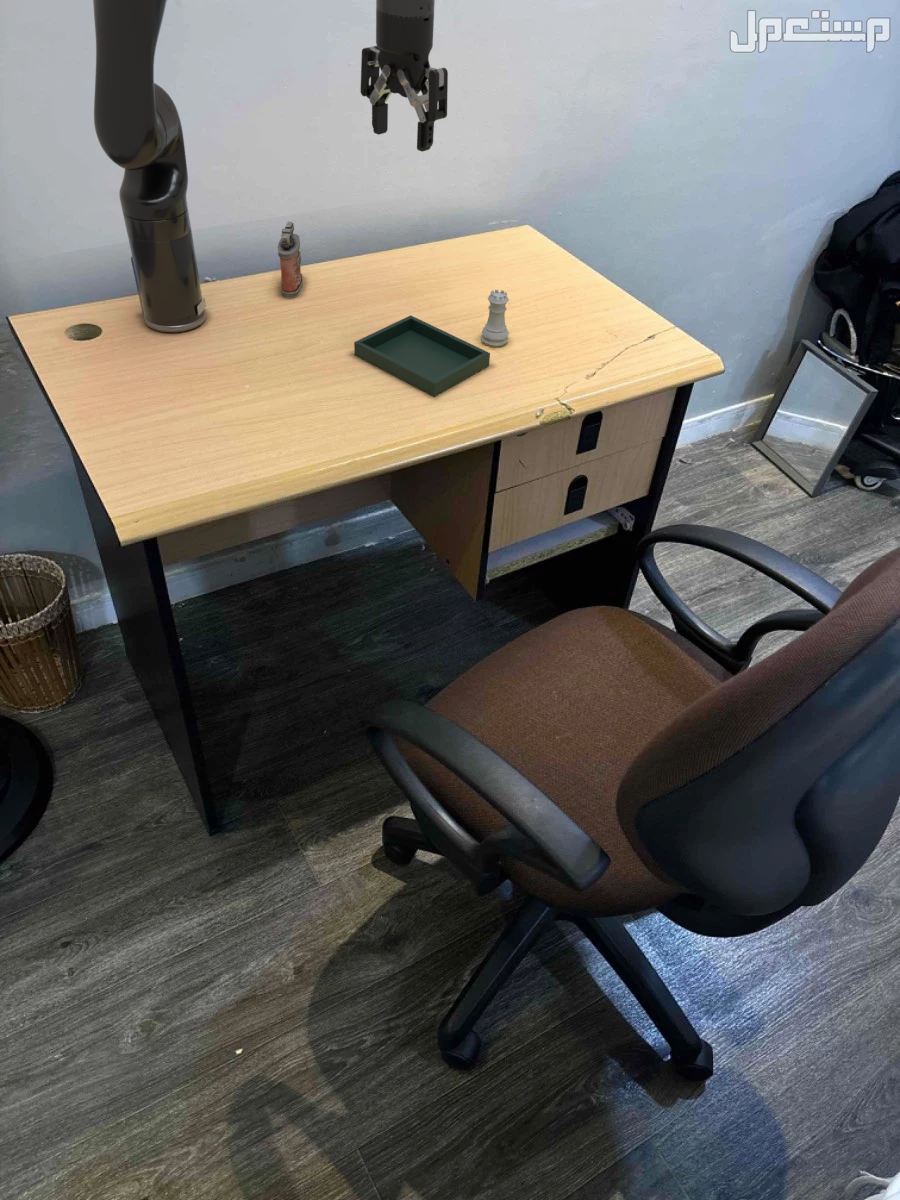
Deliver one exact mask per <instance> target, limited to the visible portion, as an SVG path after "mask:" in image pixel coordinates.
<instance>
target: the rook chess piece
mask: <svg viewBox="0 0 900 1200" xmlns="http://www.w3.org/2000/svg"><path fill="white" fill-rule="evenodd" d="M487 300H488V302H489V305H488V310H489V311H488V316H487V321H486V323H484V324H485V325H484V326H483V328H482V329H481V335H480V339H481V341H482V343H484V345H486V346H489V347H493V348H498V347H504V346H505V345H506V344H507V343H508V342H509V334H510V333H509V330H508V328H507V325H506V311H507V307H506V305H507V304H508V302H509V301H510V299H509V298H508V292H507V291H505V290H503V289H501V290H500V292H499V289H494V290H491V291H490V294H489V295H488V296H487Z"/></svg>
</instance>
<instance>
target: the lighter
mask: <svg viewBox="0 0 900 1200" xmlns="http://www.w3.org/2000/svg"><path fill="white" fill-rule="evenodd" d="M294 232H295V224H294V222H293V221H287V223H286V224H285V226H284V228H281V234H280V236H281V238H280V240H278V243H277V255H278V257H279V264H280V273H281V285H280V289H281V296H282V297H284V298H287V299H292V298H296V297H298V296H299V295H300V293H301V292H302V290H303V285H304V281H303V280H304V279H303V274H302V270H301V263H302V254H301V252H302V251H300V248H301V239H300V235H298V234H297V233H294Z"/></svg>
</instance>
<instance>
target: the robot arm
mask: <svg viewBox="0 0 900 1200" xmlns="http://www.w3.org/2000/svg"><path fill="white" fill-rule="evenodd" d="M435 1H436V0H375V44H376V45H374V46H368V47H364V48H362V49H361V63H360V65H361V66H360V67H361V68H360V94H361V96H362V97H366V98H367V99H369V103H370V104H371V127H372V129H373V130H372V131H373V133H374V134H376V135H378V136H379V135H383V134H386V133H387V132H388V130H389V129H388V126H389V125H388V124H389V123H388V122H389V104H388V103H386V102H387V101H388V100H389V98H390V97H391V95H392V94H399V95H400V96H401V97H402V98H407V100H408V102H409V105H410V106H411V107H412V108H414V110H415V114H416V116H417V119H418V120H419V121H417V129H416V130H417V133H416V149H417V151H419V152H422V153H423V152H426V151H429V150H430V149H431V148H432V147H433V144H434V133H435V132H434V131H435V122H436V121H439V120H441V119H446V118H447V116H448V92H449V91H448V90H449V89H448V88H449V86H448V85H449V83H448V81H449V73H448V70H447V68H446V67H441V68H440V67H439V68H436V67H432V66H431V65H430V60H429V59H430V57H429V56H430V53H431V51H432V50H433V45H434V25H435ZM167 2H168V0H92V5H93V20H94V30H95V31H94V33H95V76H94V77H95V79H94V99H93V125H94V131H95V134H96V137H97V140H98V143H99V146H100V147H101V148H102V150H103V152H104V153H105V155H106V156H107V157H108V158H109V159H110V160H111V161H112V162H113V163H114V164H116V165H117V166H118V167H120V168H122V169H123V170H124V171H123V172H124V173H123V178H122V182H121V185H120V189H119V193H118V195H119V202H120V206H121V212H122V216H123V220H124V225H125V230H126V233H127V239H128V242H129V248H130V252H131V257H130V263H131V267H132V271H133V275H134V281H135V285H136V290H137V294H138V299H139V304H140V308H141V313H142V316H143V318H144V322H145V324H146V326H147V327H149V328H150V329H152V330H155V331H158V332H163V333H179V332H180V333H182V332H186V331H190V330H193V329H196V328H198V327H199V326H201V325H202V324H203V323H204V322H205V320H206V318H207V315H206V309H205V308H206V307H207V305H206V297H203V295H202V288H201V282H200V275H199V269H198V268H199V267H198V262H197V256H196V250H195V245H194V238H193V232H192V231H193V230H192V225H191V220H190V219H191V218H190V213H189V206H188V201H187V193H188V187H189V186H188V185H189V172H188V165H187V156H186V155H187V154H186V150H185V149H186V147H185V139H184V133H183V125H182V121H181V118H180V115H179V111H178V109H177V106H176V104H175V102H174V100H173V99H172V97H171V96H170V94H169V93H168V92H167V91H166V90H165V89H164V88H163V87H161V86H160V85H159V84H157V83H155V57H156V50H157V45H158V41H159V35H160V32H161V28H162V24H163V20H164V16H165V12H166V7H167ZM380 72H381V73H380ZM420 92H421V95H419V93H420Z"/></svg>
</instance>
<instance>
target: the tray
mask: <svg viewBox="0 0 900 1200" xmlns="http://www.w3.org/2000/svg"><path fill="white" fill-rule="evenodd" d="M353 343H354V344H353V346H354V347H353V349H354V352H353V353H354V355H353V356H355V357H357V358H359V359H361V360H363V361H365V362H366V363H369V364H370V365H373V366H375V368H378V369H380V370H382V371H384V372H385V373H387V374H390V375H392V376H393V377H396V378H397V379H398V380H401V381H403V382H404V383H407V384H409V385H410V386H412V387H414V388H415V389H418V390H420V391H422V392H424V393H426V394H428V395H429V396H431V397H433V398H435V397H437V396H439V395H440V394H442V393H444V392H446V391H447V390H449V389H452V388H453V387H455V386H456V385H458V384H460V383H462V382H463V381H466V380H467V379H468V378H469V379H470V377H472V376H474V375H476V374H478V373H479V372H481V371H483V370H485V369H486V368H488V367H490V360H491V352H489V351H487V350H484V349H482V348H480V347H479V346H476V345H474V344H472V343H471V342H468V341H466V340H463V339H462V338H460V337H457V336H455V335H453V334H451V333H449V332H447V331H445V330H443V329H441V328H439V327H437V326H434V325H432V324H430V323H428V322H426V321H424V320H422V319H419V318H417V317H415V316H414V315H408V316H406V317H404V318H402V319H399V320H397V321H395V322H393V323H391V324H389V325H387V326H385V327H383V328H381V329H379V330H377V331H374V332H372V333H370V334H368V335H366V336H364V337H361V338H359V339H358V340H355V341H354V342H353Z"/></svg>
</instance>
